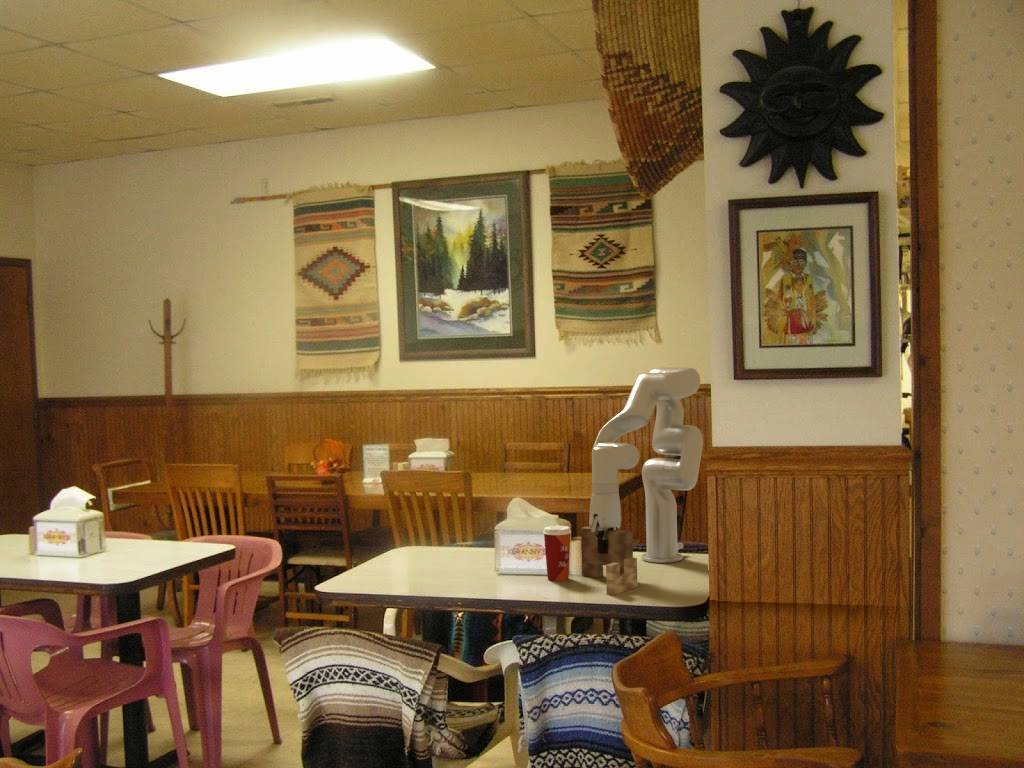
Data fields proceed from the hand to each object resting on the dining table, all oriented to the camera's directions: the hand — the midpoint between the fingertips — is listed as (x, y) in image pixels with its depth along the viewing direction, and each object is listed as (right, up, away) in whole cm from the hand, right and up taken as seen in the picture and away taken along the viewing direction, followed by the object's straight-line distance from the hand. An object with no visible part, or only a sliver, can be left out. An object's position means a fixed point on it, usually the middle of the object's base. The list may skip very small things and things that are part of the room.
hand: (606, 551), depth 304 cm
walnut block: (0, -8, 0) cm, 8 cm away
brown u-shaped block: (+3, -8, -15) cm, 17 cm away
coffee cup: (-14, -8, +1) cm, 16 cm away
